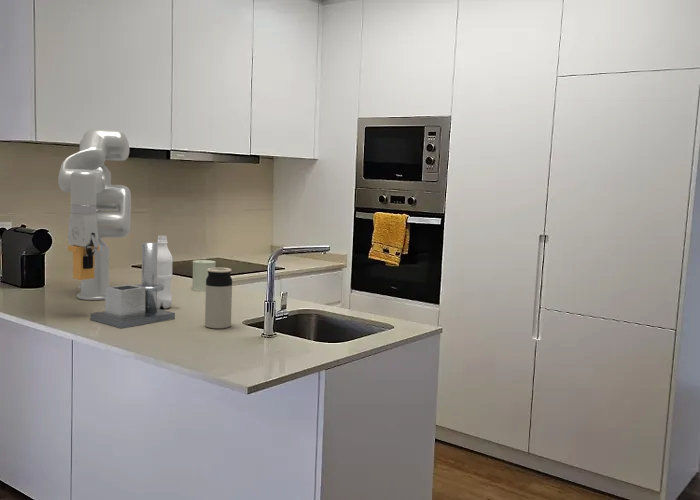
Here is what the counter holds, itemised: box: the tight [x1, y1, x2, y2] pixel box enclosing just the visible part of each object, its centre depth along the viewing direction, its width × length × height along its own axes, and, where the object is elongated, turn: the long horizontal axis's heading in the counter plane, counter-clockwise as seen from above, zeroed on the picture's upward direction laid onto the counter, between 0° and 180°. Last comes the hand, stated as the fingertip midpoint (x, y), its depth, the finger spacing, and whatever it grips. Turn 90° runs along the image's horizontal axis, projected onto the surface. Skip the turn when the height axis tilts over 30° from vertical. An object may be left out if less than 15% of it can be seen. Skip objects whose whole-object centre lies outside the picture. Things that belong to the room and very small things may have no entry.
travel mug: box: [204, 267, 233, 330], centre depth 213 cm, size 8×8×18 cm
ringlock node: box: [90, 241, 176, 329], centre depth 218 cm, size 16×20×24 cm
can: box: [191, 259, 217, 292], centre depth 276 cm, size 9×9×12 cm
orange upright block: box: [67, 245, 99, 281], centre depth 220 cm, size 4×8×10 cm, turn 143°
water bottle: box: [156, 235, 173, 310], centre depth 237 cm, size 7×7×25 cm
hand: (83, 266), depth 220 cm, fingers closed on orange upright block, 4 cm apart
